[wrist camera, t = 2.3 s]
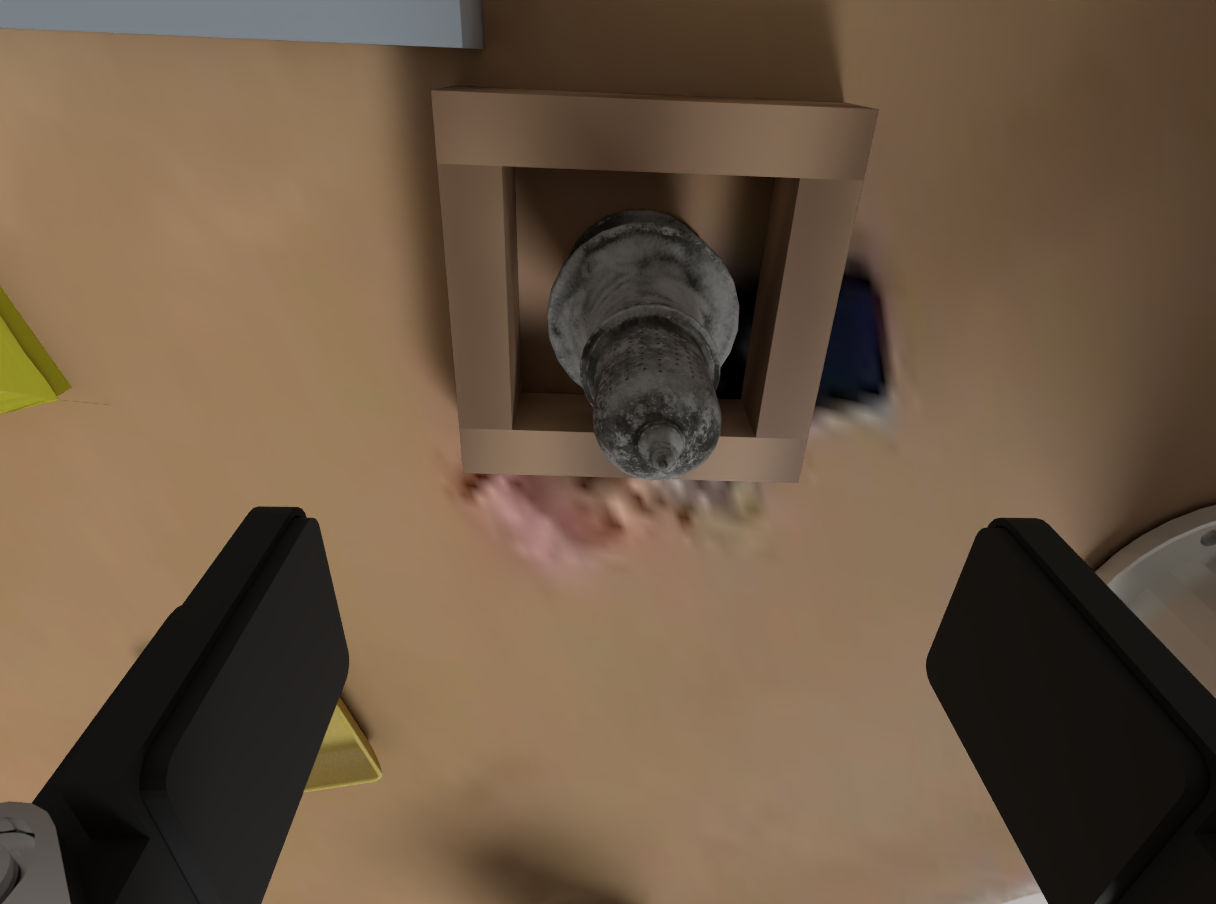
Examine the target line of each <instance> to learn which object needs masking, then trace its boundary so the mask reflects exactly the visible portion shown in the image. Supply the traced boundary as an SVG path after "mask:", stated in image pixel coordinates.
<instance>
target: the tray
mask: <svg viewBox="0 0 1216 904" xmlns="http://www.w3.org/2000/svg"><path fill="white" fill-rule="evenodd" d="M0 28H14V29H37V30H59V31H82V32H105V33H128V34H151V35H173V36H196V37H219V38H242V39H265V40H287V41H310V42H333V43H356V44H378V45H401V46H424V47H447V48H470V49H484V37H483V16H482V0H0Z"/></svg>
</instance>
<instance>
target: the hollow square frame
mask: <svg viewBox="0 0 1216 904" xmlns="http://www.w3.org/2000/svg"><path fill="white" fill-rule="evenodd" d="M431 98H432V110H433V122H434V134H435V146H436V157H437V169H438V181H439V193H440V205H441V217H442V229H443V240H444V252H445V264H446V276H447V288H448V300H449V312H450V324H451V335H452V347H453V359H454V371H455V383H456V395H457V407H458V418H459V430H460V442H461V454H462V466H463V473H485V474H518V475H552V476H585V477H619V478H636V477H633V476H631V475H629V474H627V473H624V472H622V471H621V470H619V469H618V468H617V467H616V466H614V465H613V464H612V463H610V461H609V460H608V459H607V457H606V456H605V455H604V454H603V452H602V451H601V449H600V446H599V444H598V441H597V439H596V436H595V434H594V427H593V407H592V405H591V404H590V403H589V401H588V400H587V398H586V396H585V394H558V393H527V392H521V360H520V327H519V294H518V261H517V228H516V195H515V167H535V168H560V169H585V170H610V171H635V172H660V173H685V174H710V175H735V176H760V177H775V179H774V185H773V192H772V198H771V205H770V211H769V218H768V224H767V231H766V238H765V244H764V251H763V257H762V264H761V270H760V277H759V283H758V290H757V296H756V303H755V310H754V316H753V323H752V329H751V336H750V342H749V349H748V355H747V362H746V368H745V375H744V382H743V388H742V395H741V399H718V403H719V406H720V410H721V431H720V436H719V439H718V442H717V445H716V447H715V449H714V450H713V452H712V453H711V455H710V456H709V458H708V459H707V460H706V461H705V462H704V463H703V464H701V465H700V466H699V467H698V468H697V469H695V470H693V471H691V472H689V473H687V474H685V475H683V476H681V477H677V478H673V479H685V480H719V481H752V482H786V483H798V481H799V477H800V472H801V467H802V463H803V458H804V453H805V449H806V444H807V440H808V435H809V430H810V426H811V421H812V416H813V412H814V407H815V402H816V398H817V393H818V389H819V384H820V379H821V375H822V370H823V365H824V361H825V356H826V352H827V347H828V342H829V338H830V333H831V328H832V324H833V319H834V314H835V310H836V305H837V301H838V296H839V291H840V287H841V282H842V277H843V273H844V268H845V263H846V259H847V254H848V250H849V245H850V240H851V236H852V231H853V226H854V222H855V217H856V212H857V208H858V203H859V199H860V194H861V189H862V185H863V180H864V175H865V171H866V166H867V161H868V157H869V152H870V148H871V143H872V138H873V134H874V129H875V124H876V120H877V115H878V111H879V109H874V108H869V107H864V106H859V105H854V104H849V103H839V102H816V101H792V100H769V99H745V98H722V97H699V96H675V95H652V94H628V93H605V92H581V91H558V90H534V89H511V88H487V87H464V86H451V87H445V88H440V89H435V90H431Z"/></svg>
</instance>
